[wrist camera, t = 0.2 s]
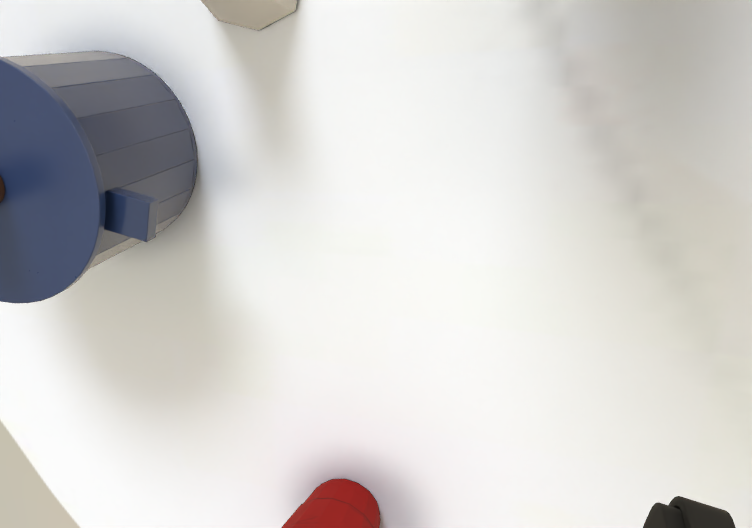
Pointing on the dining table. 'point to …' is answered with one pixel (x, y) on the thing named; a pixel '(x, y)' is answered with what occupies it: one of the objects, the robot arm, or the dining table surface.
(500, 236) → the dining table surface
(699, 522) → the robot arm
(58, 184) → the pot lid
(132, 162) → the pot
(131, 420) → the dining table surface
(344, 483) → the plastic cup
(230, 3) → the flask
